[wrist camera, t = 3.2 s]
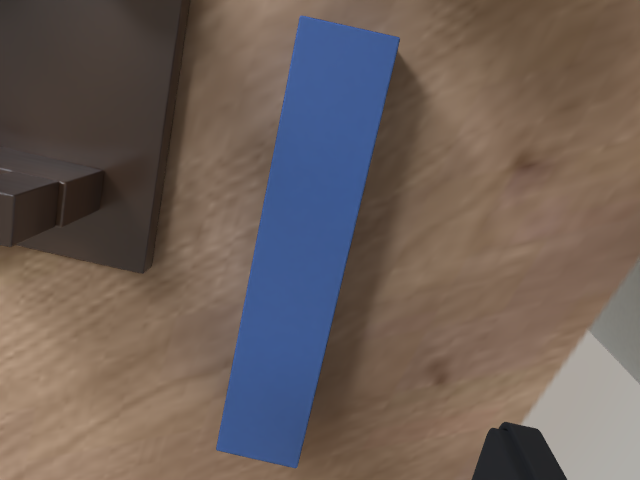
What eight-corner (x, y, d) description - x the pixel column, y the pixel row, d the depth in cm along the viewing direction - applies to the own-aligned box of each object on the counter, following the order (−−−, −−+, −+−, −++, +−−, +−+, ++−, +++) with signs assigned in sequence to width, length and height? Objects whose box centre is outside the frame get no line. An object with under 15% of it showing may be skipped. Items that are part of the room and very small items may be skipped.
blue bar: (394, 44, 21) (400, 37, 18) (304, 422, 25) (297, 469, 22) (308, 25, 21) (300, 14, 18) (232, 406, 25) (215, 450, 22)
